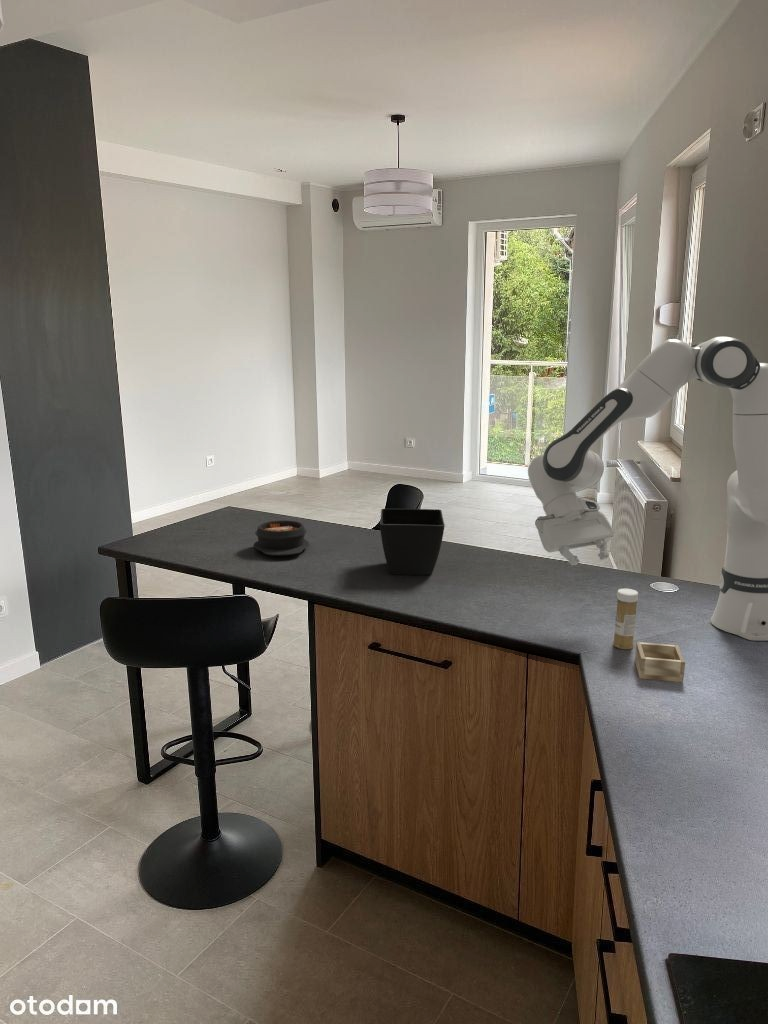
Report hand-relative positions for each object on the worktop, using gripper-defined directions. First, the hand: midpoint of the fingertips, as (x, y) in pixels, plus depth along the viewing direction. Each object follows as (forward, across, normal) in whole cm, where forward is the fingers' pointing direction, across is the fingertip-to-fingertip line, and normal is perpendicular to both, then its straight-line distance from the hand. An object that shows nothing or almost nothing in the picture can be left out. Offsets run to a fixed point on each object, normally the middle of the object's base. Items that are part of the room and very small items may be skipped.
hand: (590, 561), depth 175 cm
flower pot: (-30, -15, +55) cm, 64 cm away
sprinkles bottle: (+21, 0, +4) cm, 21 cm away
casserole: (-57, -43, +82) cm, 109 cm away
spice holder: (+30, -3, -6) cm, 31 cm away
